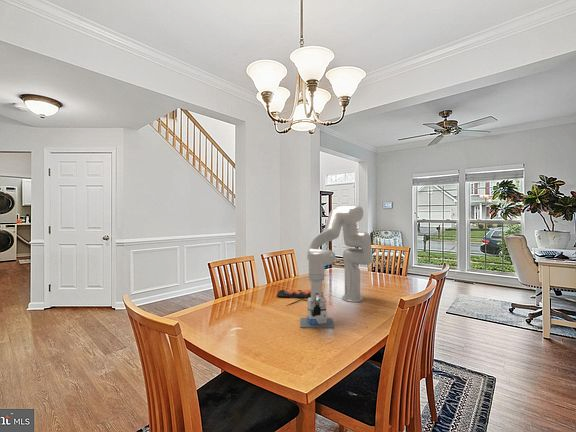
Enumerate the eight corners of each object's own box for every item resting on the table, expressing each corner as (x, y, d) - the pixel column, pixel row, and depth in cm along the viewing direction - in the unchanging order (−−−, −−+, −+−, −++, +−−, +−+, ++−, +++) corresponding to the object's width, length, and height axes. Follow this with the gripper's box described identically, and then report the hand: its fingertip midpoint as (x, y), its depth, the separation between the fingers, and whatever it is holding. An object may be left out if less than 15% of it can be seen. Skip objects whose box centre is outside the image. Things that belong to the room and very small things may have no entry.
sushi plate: (322, 293, 205) (322, 287, 205) (322, 307, 175) (322, 301, 175) (279, 292, 208) (279, 286, 208) (272, 306, 178) (272, 300, 178)
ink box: (309, 324, 147) (309, 300, 146) (307, 321, 152) (307, 297, 151) (326, 323, 148) (326, 299, 148) (323, 319, 153) (323, 296, 153)
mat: (300, 318, 156) (300, 317, 156) (331, 319, 156) (331, 318, 156) (300, 327, 144) (300, 326, 144) (334, 328, 144) (334, 327, 144)
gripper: (308, 273, 158) (308, 305, 159) (309, 281, 141) (309, 317, 141) (322, 273, 158) (323, 306, 158) (325, 281, 141) (325, 318, 141)
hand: (316, 311), depth 150 cm, fingers open, 9 cm apart
